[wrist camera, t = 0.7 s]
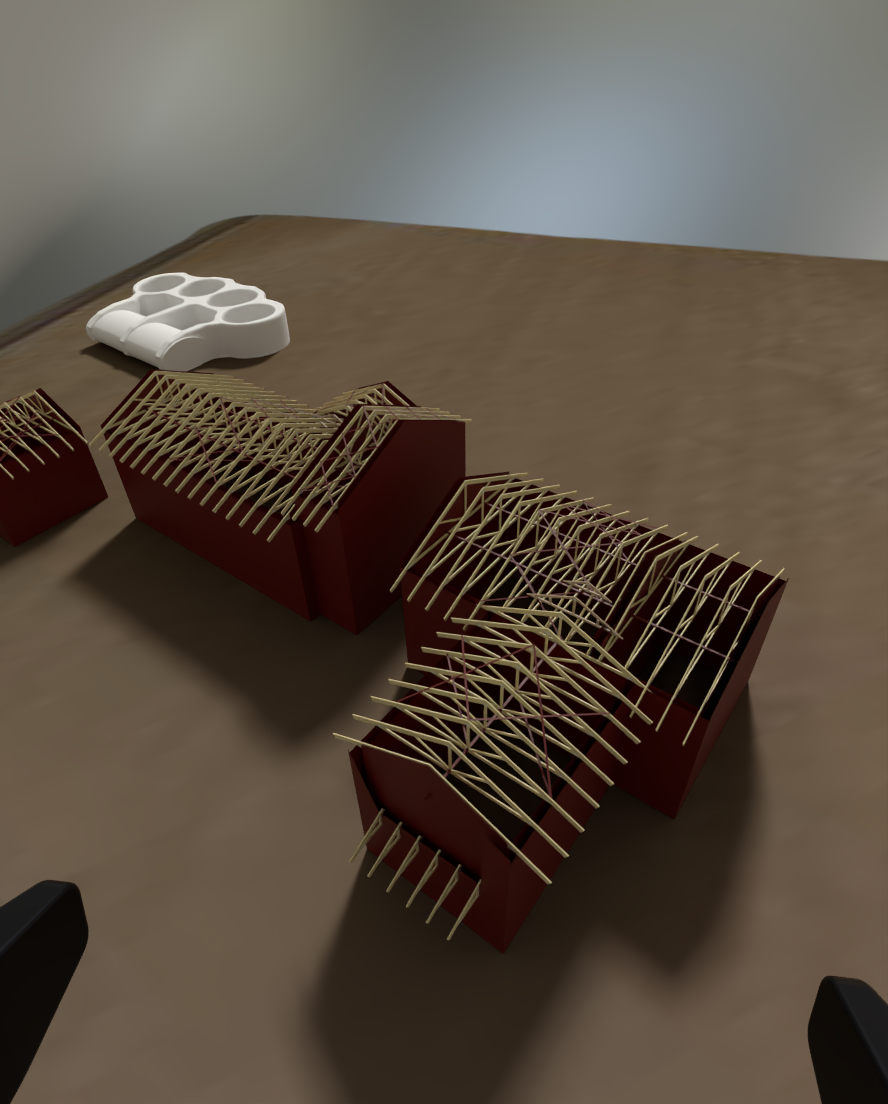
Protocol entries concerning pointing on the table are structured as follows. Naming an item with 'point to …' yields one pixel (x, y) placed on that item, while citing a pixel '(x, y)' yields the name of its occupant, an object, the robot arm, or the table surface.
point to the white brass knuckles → (191, 322)
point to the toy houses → (429, 606)
